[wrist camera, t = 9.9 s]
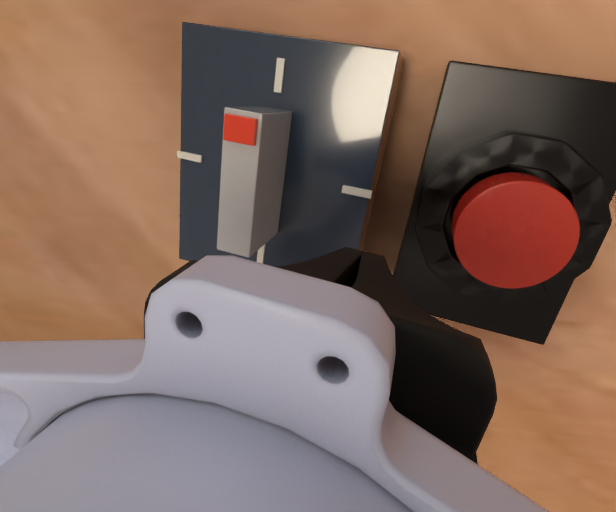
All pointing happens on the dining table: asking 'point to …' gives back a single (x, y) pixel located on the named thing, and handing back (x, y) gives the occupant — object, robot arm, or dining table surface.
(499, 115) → the button box
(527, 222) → the red button
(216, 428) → the robot arm
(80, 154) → the dining table surface
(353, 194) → the base
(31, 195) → the dining table surface
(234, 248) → the tap lever
